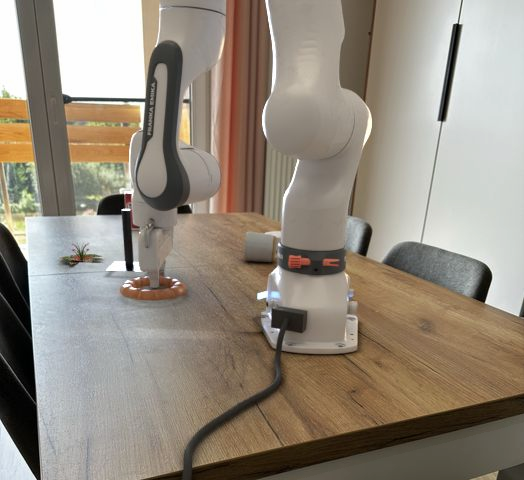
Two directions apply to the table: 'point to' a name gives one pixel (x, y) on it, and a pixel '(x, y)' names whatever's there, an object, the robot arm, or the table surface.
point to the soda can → (130, 207)
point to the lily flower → (81, 256)
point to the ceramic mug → (260, 247)
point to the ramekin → (278, 236)
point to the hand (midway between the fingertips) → (157, 282)
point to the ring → (173, 291)
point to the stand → (126, 247)
